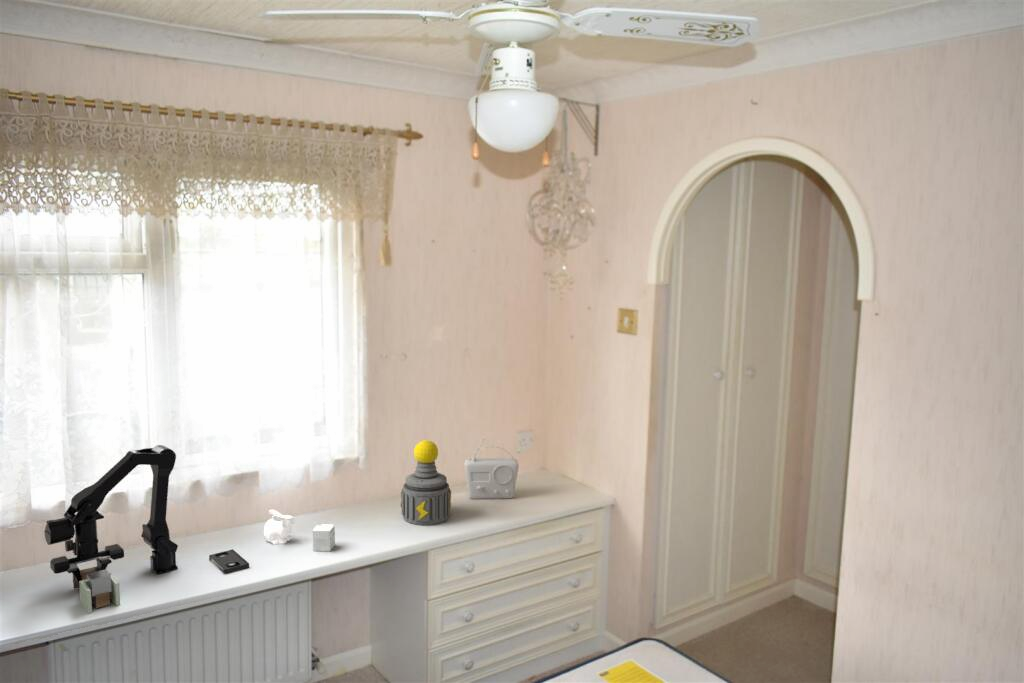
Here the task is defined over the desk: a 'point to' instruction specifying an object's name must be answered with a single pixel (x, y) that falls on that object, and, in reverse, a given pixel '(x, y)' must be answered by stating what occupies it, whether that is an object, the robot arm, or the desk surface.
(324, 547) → the skincare box
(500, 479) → the radio
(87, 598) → the cradle
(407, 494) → the decorative lamp
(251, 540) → the desk surface
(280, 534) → the rabbit
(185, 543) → the desk surface
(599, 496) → the desk surface
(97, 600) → the brown wooden stepped block
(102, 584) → the block
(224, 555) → the vhs tape
